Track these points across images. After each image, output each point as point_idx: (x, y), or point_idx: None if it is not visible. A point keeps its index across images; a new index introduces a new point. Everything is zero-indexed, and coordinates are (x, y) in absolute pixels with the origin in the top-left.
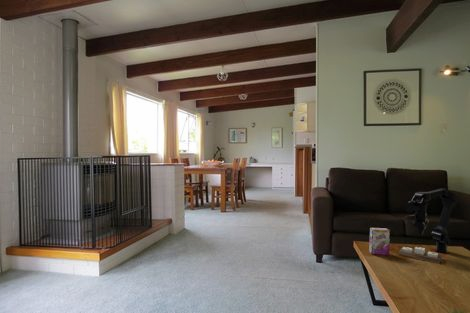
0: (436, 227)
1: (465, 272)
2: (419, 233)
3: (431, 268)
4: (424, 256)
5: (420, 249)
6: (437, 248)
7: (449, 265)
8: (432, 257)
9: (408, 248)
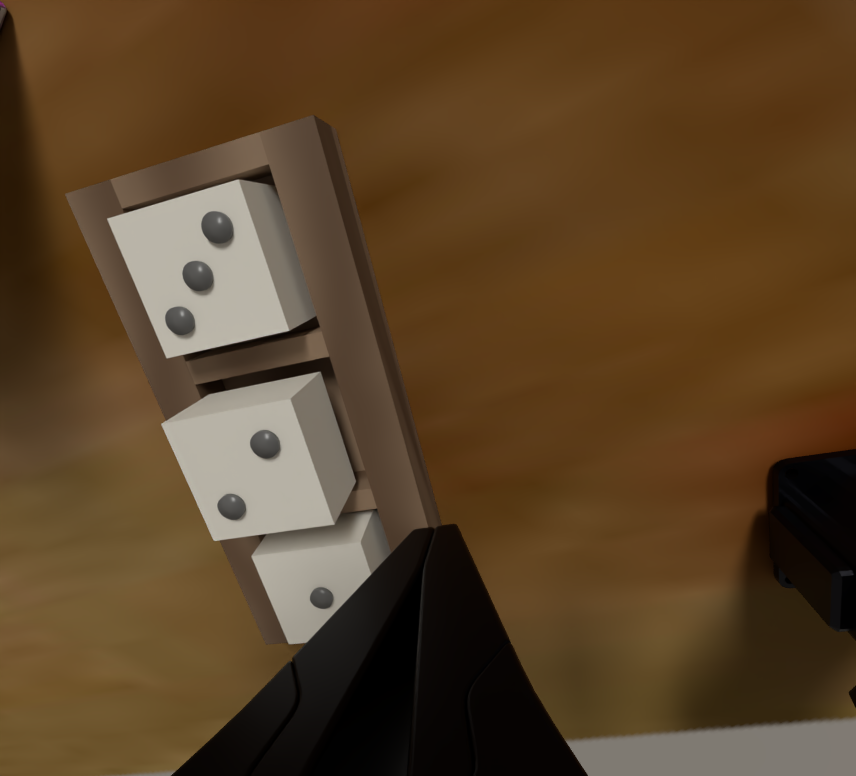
0: None
1: None
2: (383, 577)
3: (82, 596)
4: None
5: (201, 500)
6: (836, 504)
7: None
8: (263, 585)
9: (217, 290)
